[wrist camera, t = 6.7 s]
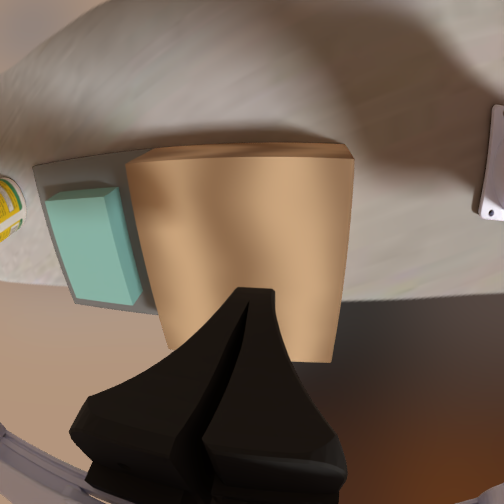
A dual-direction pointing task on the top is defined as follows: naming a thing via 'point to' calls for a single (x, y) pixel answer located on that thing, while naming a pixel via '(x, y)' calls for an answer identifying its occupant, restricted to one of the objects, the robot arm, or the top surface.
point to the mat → (91, 177)
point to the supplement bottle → (11, 208)
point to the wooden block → (246, 234)
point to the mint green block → (95, 244)
